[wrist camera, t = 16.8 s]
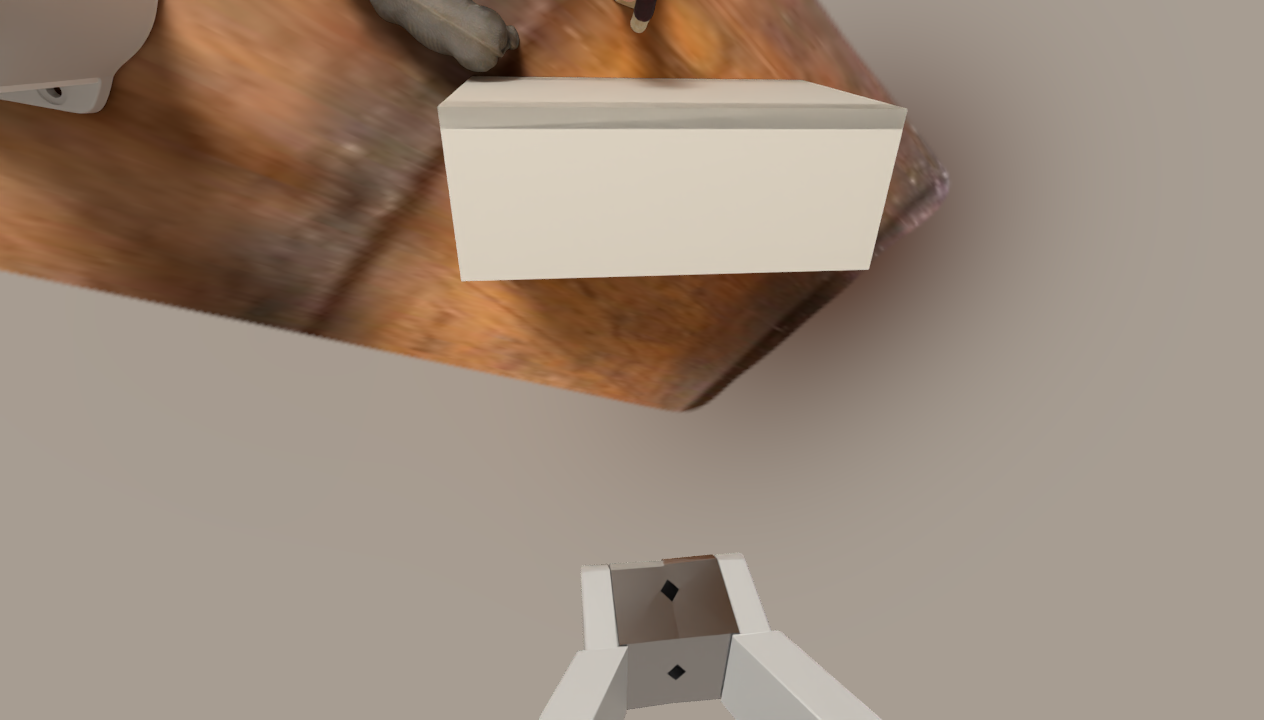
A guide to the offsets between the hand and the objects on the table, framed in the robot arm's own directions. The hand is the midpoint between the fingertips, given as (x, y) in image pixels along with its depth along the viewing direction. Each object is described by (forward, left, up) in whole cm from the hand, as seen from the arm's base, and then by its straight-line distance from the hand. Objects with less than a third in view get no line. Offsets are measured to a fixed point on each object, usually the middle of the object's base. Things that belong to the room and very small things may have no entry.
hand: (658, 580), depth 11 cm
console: (+5, 0, -39) cm, 39 cm away
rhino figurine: (-10, +10, -39) cm, 42 cm away
